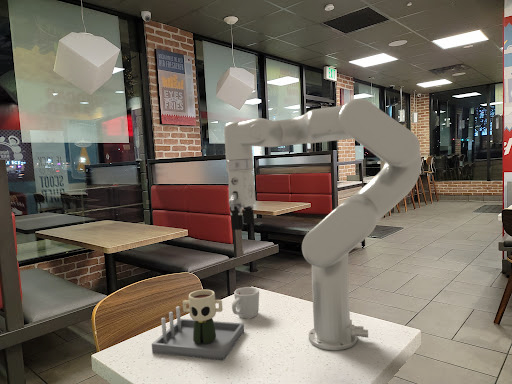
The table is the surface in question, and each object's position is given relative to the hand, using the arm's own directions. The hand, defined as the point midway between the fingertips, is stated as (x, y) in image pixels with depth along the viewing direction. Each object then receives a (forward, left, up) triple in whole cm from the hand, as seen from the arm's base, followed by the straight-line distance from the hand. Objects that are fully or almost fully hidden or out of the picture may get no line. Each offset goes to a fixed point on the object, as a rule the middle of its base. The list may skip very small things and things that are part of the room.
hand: (243, 226), depth 106 cm
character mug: (+9, +10, -30) cm, 33 cm away
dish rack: (+11, +10, -30) cm, 34 cm away
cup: (+4, -8, -31) cm, 32 cm away
